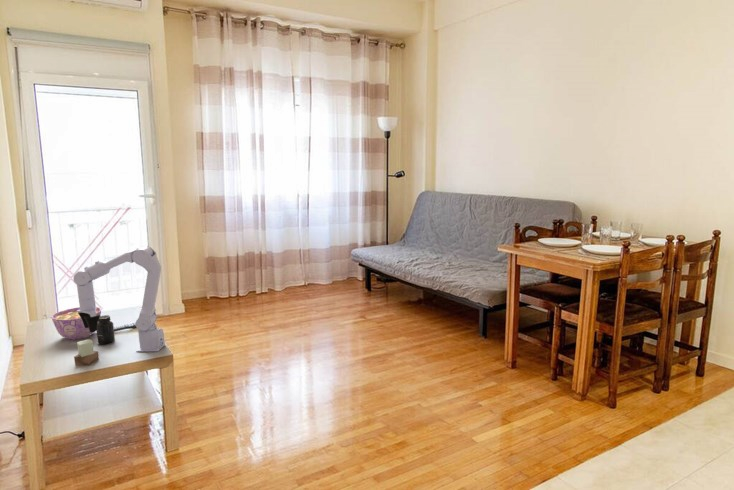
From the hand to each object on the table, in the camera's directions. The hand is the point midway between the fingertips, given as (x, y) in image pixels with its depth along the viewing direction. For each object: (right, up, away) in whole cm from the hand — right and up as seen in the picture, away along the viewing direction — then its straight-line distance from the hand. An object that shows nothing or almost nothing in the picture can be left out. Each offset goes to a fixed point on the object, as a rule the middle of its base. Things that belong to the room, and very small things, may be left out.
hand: (90, 329), depth 203 cm
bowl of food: (-17, -7, +22) cm, 29 cm away
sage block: (+3, -8, -9) cm, 12 cm away
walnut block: (+3, -12, -8) cm, 15 cm away
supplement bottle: (-1, -8, +14) cm, 16 cm away
